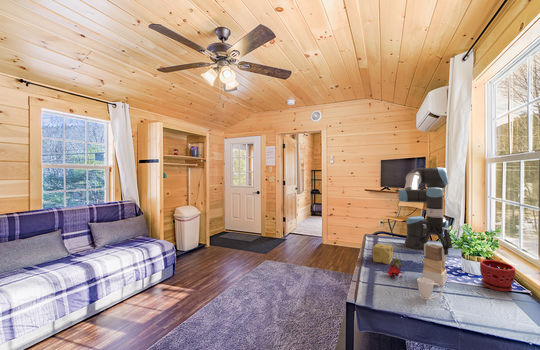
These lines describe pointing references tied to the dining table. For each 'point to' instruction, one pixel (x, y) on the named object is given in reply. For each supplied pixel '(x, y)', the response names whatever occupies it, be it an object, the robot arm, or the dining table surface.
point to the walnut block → (434, 252)
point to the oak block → (434, 266)
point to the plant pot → (497, 275)
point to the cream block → (436, 276)
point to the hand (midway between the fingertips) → (434, 257)
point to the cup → (426, 288)
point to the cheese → (383, 253)
